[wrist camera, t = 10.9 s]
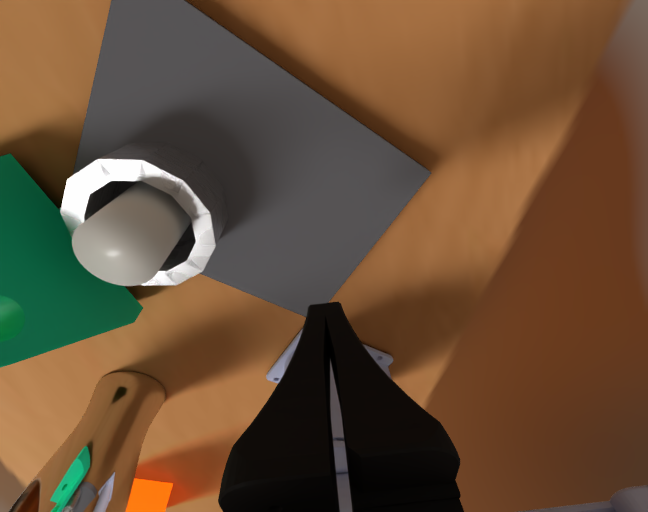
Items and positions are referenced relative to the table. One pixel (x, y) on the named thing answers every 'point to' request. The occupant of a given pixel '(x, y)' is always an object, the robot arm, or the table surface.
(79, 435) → the beer glass
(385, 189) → the mat
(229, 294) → the table surface
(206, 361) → the table surface
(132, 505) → the orange juice
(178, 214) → the plug cap
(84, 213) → the sleeve
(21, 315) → the camera mount
